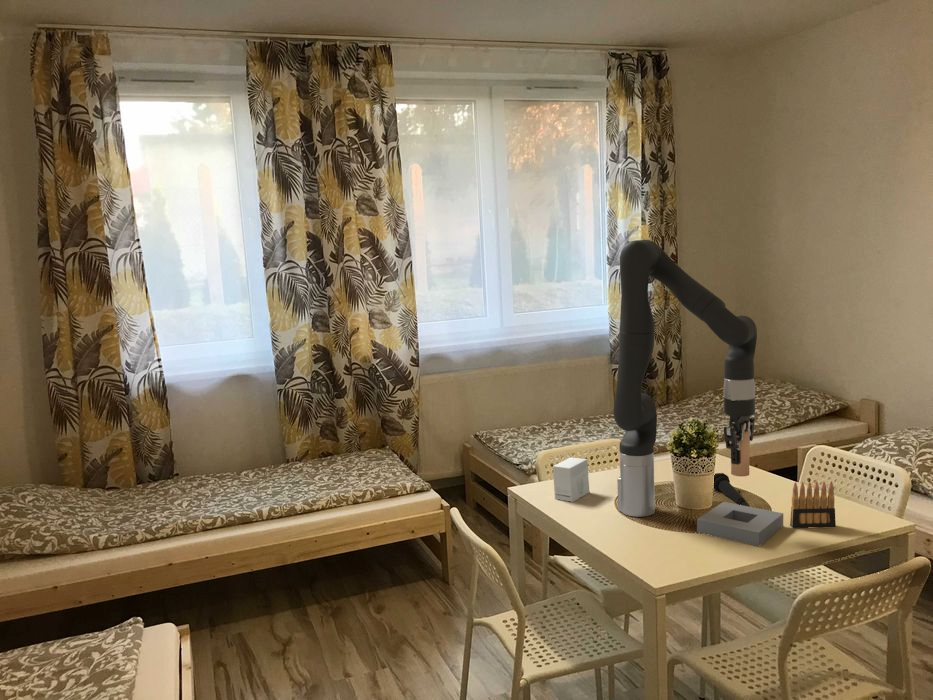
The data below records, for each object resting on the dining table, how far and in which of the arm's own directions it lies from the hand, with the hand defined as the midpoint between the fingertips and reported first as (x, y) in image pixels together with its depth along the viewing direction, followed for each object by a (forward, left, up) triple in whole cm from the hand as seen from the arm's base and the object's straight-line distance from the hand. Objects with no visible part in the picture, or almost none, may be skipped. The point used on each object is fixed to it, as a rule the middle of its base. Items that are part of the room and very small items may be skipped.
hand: (739, 461), depth 195 cm
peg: (0, 0, -3) cm, 3 cm away
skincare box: (-51, -2, -18) cm, 54 cm away
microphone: (-12, +21, -19) cm, 31 cm away
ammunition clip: (+14, +12, -18) cm, 26 cm away
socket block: (0, 0, -18) cm, 18 cm away
